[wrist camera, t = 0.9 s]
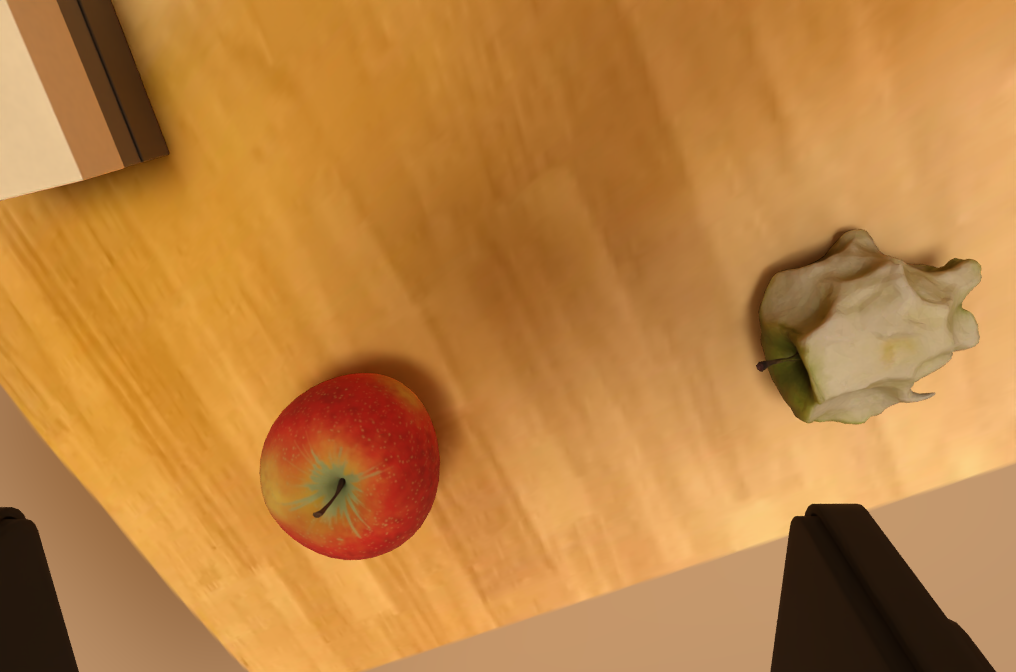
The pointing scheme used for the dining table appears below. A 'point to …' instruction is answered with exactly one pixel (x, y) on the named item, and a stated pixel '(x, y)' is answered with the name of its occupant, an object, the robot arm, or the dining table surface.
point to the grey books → (114, 79)
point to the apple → (351, 466)
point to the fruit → (862, 329)
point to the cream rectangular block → (46, 105)
